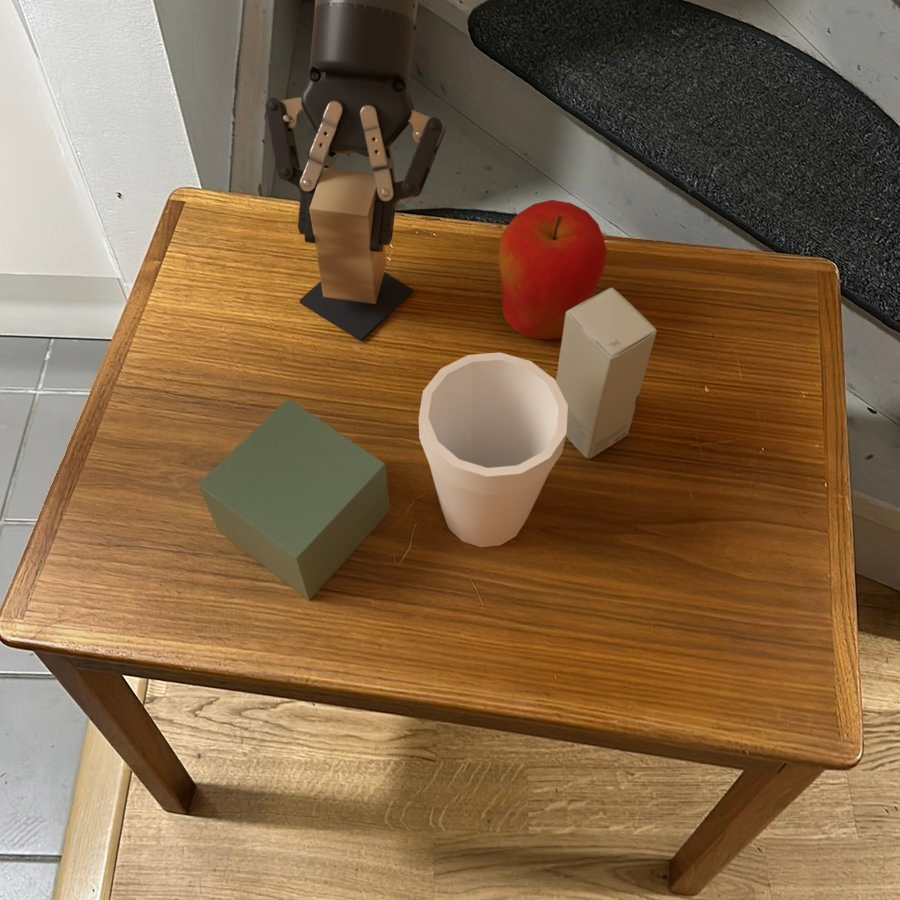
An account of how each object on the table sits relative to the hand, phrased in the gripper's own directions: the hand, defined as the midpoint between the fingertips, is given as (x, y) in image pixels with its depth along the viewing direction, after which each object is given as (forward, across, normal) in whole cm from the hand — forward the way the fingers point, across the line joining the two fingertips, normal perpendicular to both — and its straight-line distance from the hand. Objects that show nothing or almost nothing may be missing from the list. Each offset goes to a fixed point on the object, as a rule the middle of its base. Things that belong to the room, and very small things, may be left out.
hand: (344, 245), depth 72 cm
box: (+12, +21, 0) cm, 24 cm away
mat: (+5, 0, +7) cm, 8 cm away
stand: (+20, +1, -8) cm, 22 cm away
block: (+3, 0, +6) cm, 6 cm away
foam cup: (+18, +14, -6) cm, 23 cm away
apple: (+4, +16, +8) cm, 18 cm away
